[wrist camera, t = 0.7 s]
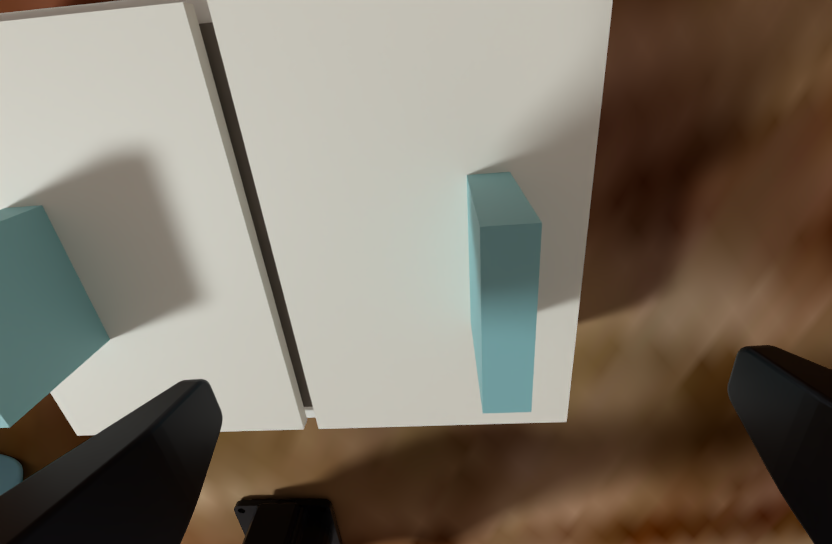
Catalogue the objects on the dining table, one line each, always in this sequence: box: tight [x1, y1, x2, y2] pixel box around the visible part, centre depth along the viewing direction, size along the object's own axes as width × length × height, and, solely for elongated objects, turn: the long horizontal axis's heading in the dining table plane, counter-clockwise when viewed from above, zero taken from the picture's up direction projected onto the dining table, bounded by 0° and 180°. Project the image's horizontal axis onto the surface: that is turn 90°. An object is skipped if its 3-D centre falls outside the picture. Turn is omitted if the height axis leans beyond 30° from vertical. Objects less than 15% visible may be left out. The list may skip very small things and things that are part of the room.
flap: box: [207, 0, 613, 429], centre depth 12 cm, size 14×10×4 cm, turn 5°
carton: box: [0, 0, 315, 418], centre depth 16 cm, size 15×20×5 cm
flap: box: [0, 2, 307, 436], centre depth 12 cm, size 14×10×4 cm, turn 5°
